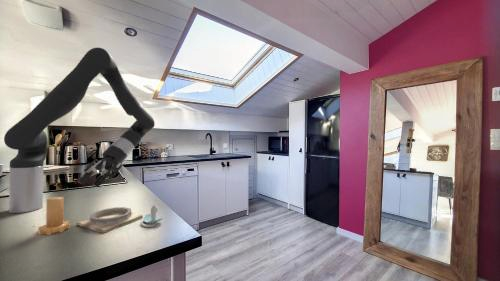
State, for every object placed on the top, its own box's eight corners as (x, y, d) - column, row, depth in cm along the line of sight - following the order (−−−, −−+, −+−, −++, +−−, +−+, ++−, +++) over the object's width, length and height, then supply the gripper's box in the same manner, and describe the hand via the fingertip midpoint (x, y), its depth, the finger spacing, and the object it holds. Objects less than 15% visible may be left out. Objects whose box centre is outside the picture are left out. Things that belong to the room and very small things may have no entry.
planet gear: (32, 232, 64) (33, 200, 64) (62, 223, 71) (63, 194, 71) (45, 237, 61) (46, 203, 61) (75, 227, 68) (76, 197, 68)
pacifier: (148, 230, 68) (164, 223, 73) (147, 211, 68) (164, 206, 73) (136, 224, 72) (153, 218, 77) (136, 206, 72) (152, 202, 77)
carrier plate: (76, 224, 70) (76, 216, 70) (117, 211, 83) (117, 204, 83) (103, 233, 64) (103, 223, 64) (142, 217, 77) (142, 209, 77)
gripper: (101, 144, 85) (67, 176, 75) (125, 145, 80) (91, 180, 69) (113, 156, 90) (83, 188, 80) (137, 158, 85) (107, 192, 74)
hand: (87, 184), depth 74 cm, fingers open, 8 cm apart
